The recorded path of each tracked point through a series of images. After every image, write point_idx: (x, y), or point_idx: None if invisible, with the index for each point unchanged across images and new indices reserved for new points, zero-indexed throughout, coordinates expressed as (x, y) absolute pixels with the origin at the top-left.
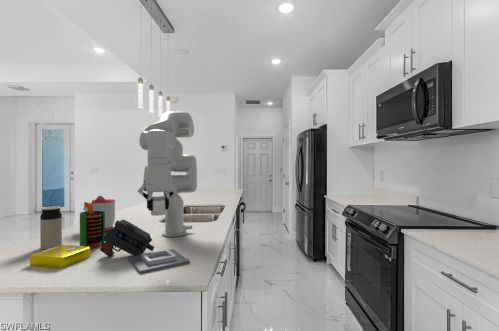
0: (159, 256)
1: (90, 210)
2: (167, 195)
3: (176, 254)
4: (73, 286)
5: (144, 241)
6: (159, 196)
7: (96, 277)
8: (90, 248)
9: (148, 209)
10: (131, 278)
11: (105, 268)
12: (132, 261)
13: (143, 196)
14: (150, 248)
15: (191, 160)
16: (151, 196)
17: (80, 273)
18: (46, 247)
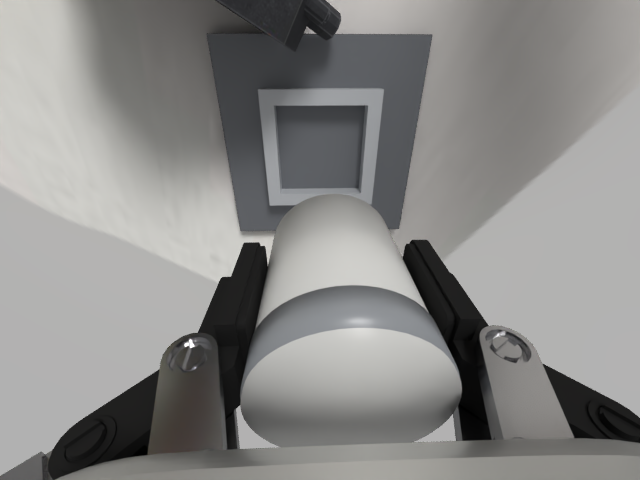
0: (332, 122)
1: None
2: (470, 437)
3: (398, 138)
4: (67, 218)
5: (275, 39)
6: (349, 437)
7: (115, 185)
8: None
9: (245, 248)
10: (218, 244)
11: (125, 108)
12: (222, 122)
13: (110, 408)
14: (314, 30)
15: None
16: (236, 445)
17: (40, 112)
18: None
